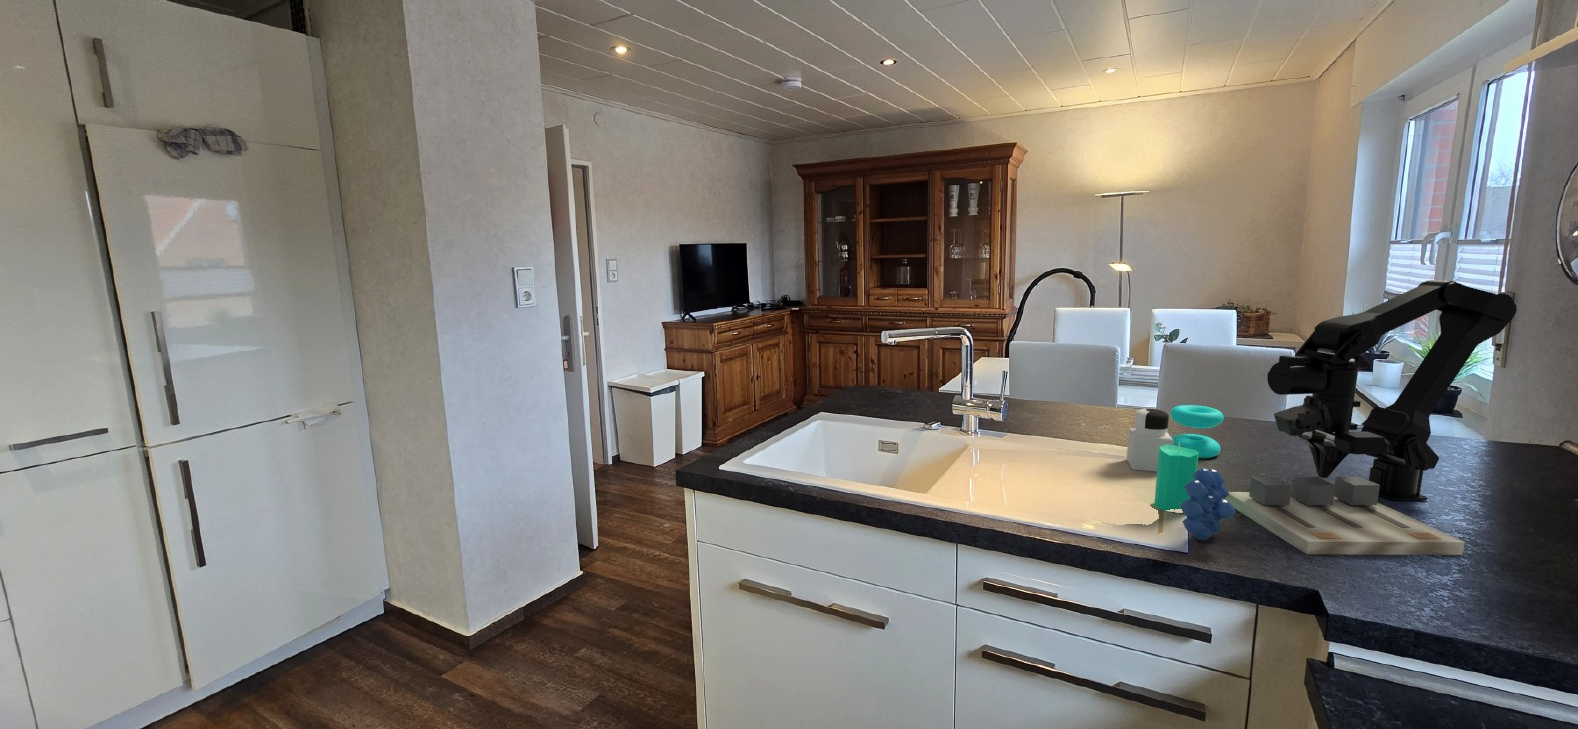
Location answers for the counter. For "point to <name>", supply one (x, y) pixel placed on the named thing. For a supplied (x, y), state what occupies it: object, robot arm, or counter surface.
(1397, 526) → the switch panel
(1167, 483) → the candle
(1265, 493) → the tab far
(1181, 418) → the donuts
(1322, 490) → the tab middle
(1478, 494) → the counter surface
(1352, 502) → the grey boxy piece
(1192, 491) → the grapes
